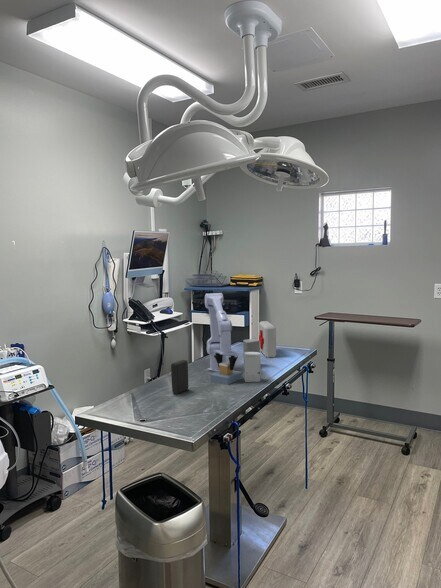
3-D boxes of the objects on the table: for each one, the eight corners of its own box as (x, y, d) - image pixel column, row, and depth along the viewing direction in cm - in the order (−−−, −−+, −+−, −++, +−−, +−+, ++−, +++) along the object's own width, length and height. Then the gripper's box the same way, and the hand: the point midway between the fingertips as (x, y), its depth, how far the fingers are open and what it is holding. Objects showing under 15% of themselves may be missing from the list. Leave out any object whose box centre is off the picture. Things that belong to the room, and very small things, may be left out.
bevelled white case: (257, 350, 293) (257, 321, 291) (269, 349, 294) (268, 320, 292) (264, 358, 273) (263, 327, 270) (276, 357, 273) (276, 326, 271)
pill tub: (225, 371, 235) (224, 361, 234) (232, 372, 232) (232, 362, 231) (219, 373, 231) (218, 363, 230) (227, 375, 227) (226, 365, 227)
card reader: (183, 388, 220) (182, 359, 218) (189, 389, 218) (188, 360, 216) (171, 393, 213) (170, 363, 211) (177, 394, 210) (176, 364, 209)
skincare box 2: (245, 382, 226) (244, 354, 225) (244, 378, 232) (243, 351, 231) (261, 381, 226) (260, 353, 225) (259, 378, 232) (259, 351, 231)
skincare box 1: (256, 363, 261) (255, 337, 259) (260, 366, 254) (260, 340, 252) (242, 365, 258) (242, 339, 256) (247, 368, 251) (246, 341, 250)
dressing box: (225, 375, 240) (225, 368, 240) (241, 379, 233) (241, 371, 233) (210, 382, 230) (210, 374, 229) (227, 385, 223) (227, 378, 223)
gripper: (209, 343, 231) (210, 368, 232) (232, 346, 222) (233, 372, 223) (217, 340, 236) (218, 365, 238) (240, 343, 227) (240, 369, 229)
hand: (226, 368), depth 231 cm, fingers open, 7 cm apart
